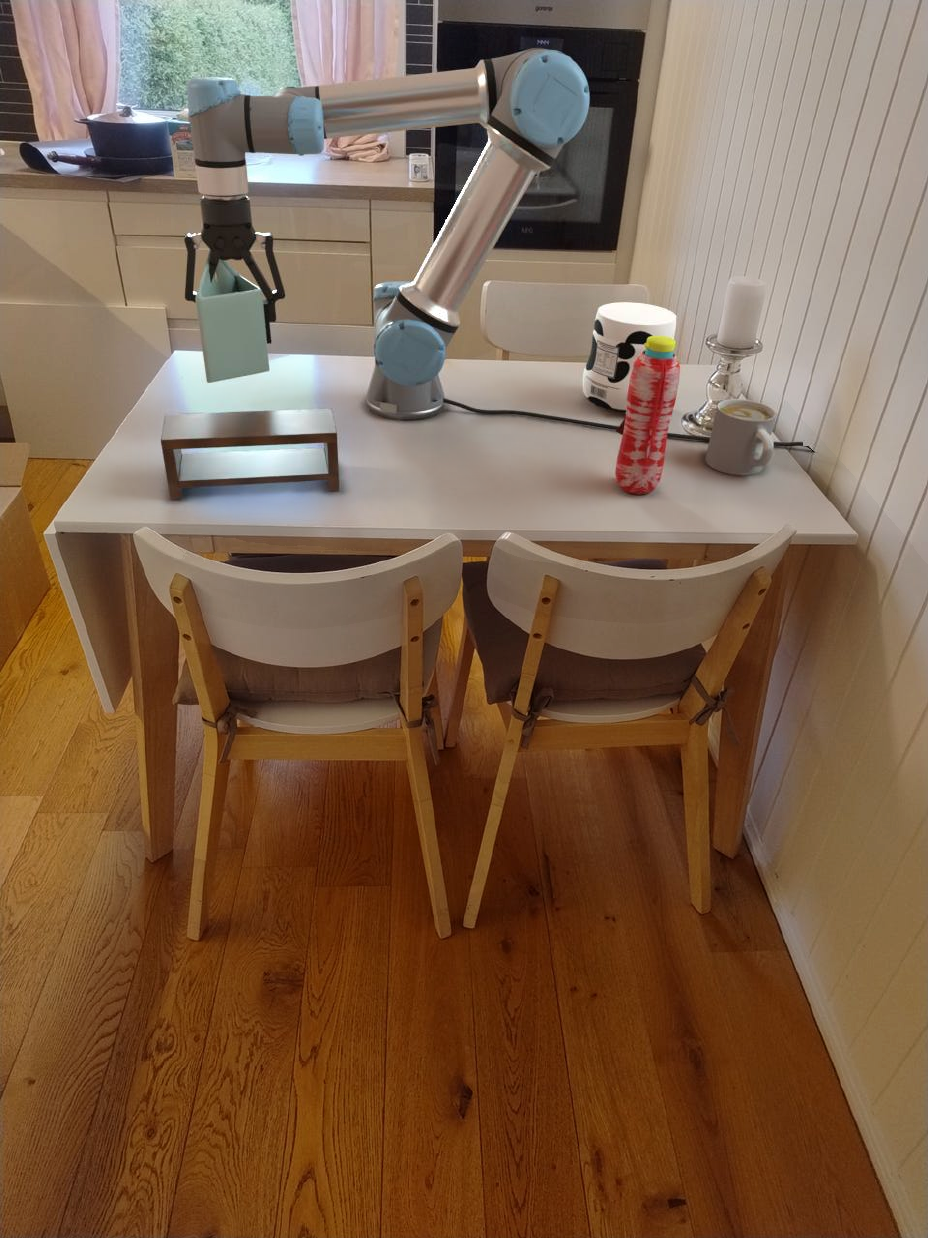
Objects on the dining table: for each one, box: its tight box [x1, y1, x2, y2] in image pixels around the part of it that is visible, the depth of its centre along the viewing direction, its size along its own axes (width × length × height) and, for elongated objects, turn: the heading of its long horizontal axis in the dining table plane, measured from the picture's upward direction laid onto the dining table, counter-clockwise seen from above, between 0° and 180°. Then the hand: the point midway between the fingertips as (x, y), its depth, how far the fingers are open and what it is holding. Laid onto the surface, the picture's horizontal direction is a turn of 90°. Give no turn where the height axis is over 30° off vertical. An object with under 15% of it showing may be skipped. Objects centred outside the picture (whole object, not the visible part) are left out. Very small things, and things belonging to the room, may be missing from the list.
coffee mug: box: [705, 398, 777, 476], centre depth 151 cm, size 13×10×10 cm
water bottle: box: [614, 335, 681, 495], centre depth 140 cm, size 12×8×25 cm, turn 0°
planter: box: [195, 249, 270, 384], centre depth 145 cm, size 16×8×20 cm, turn 170°
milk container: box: [582, 301, 677, 414], centre depth 171 cm, size 17×17×18 cm
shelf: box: [160, 408, 341, 501], centre depth 138 cm, size 26×10×10 cm, turn 102°
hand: (241, 341), depth 147 cm, fingers closed on planter, 9 cm apart
